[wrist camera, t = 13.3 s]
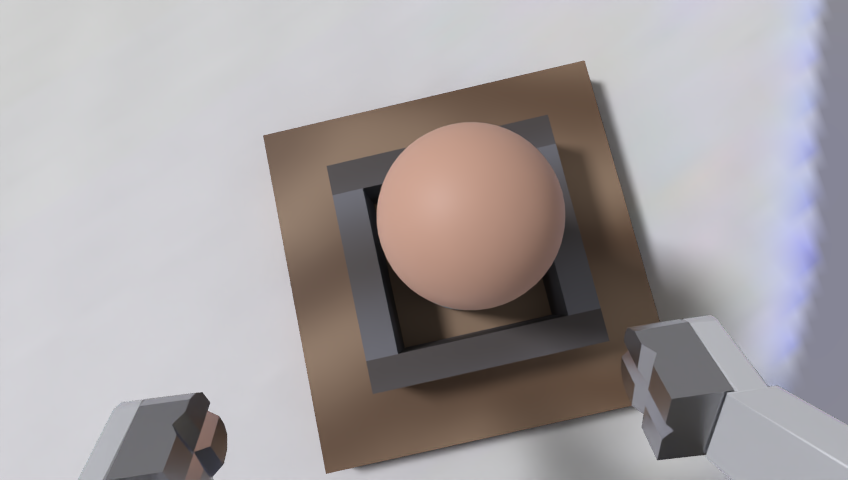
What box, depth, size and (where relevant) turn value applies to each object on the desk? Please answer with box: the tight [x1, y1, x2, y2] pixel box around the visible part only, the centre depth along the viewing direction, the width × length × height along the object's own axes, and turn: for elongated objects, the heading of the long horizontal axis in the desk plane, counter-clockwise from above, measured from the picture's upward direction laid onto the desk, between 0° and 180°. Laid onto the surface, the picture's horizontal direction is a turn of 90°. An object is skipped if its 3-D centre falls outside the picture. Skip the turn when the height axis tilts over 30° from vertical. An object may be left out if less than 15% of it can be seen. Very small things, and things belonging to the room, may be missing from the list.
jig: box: [263, 61, 660, 474], centre depth 21 cm, size 15×15×4 cm
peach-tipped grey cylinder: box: [377, 122, 565, 310], centre depth 16 cm, size 4×4×12 cm
